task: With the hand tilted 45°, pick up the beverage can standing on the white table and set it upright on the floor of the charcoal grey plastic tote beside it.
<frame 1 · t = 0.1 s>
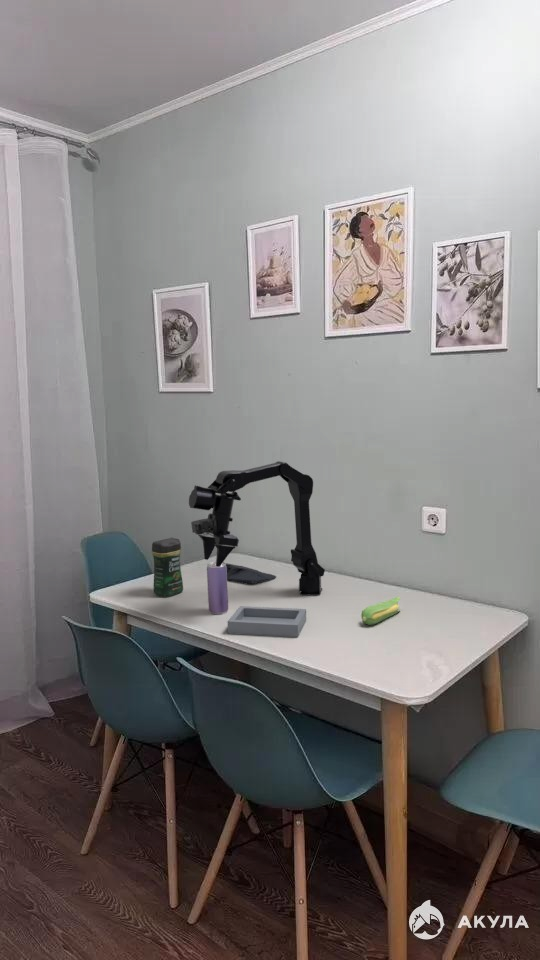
hand: (211, 562, 211), 15 cm above the table, tool pointing down, fingers open, 9 cm apart
edible corn: (384, 618, 204), on the table
beverage can: (218, 612, 213), on the table
tote: (268, 626, 199), on the table
coffee jar: (169, 593, 233), on the table
dark slate chunk: (243, 578, 248), on the table
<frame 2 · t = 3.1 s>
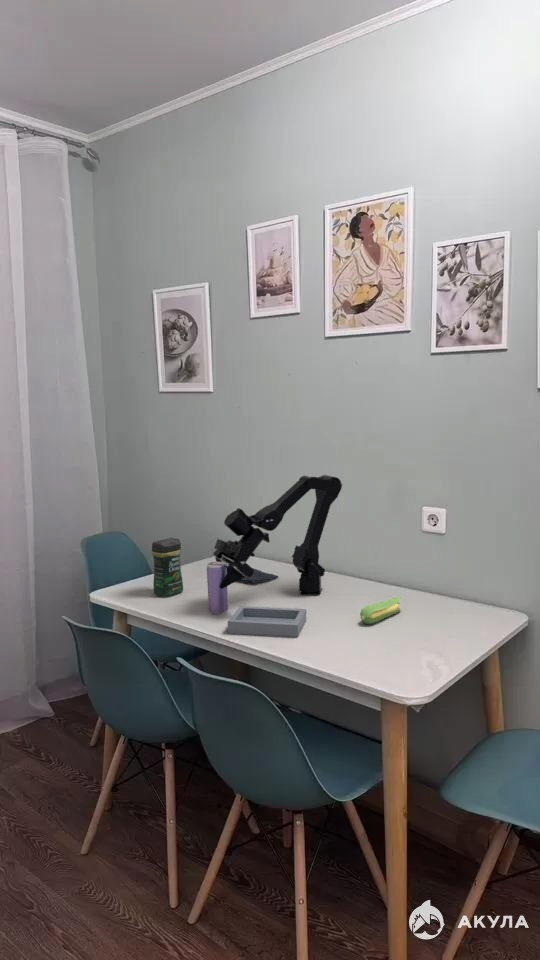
hand: (216, 585, 212), 8 cm above the table, tool tilted 45°, fingers closed on beverage can, 6 cm apart
beverage can: (218, 612, 213), on the table, touching gripper
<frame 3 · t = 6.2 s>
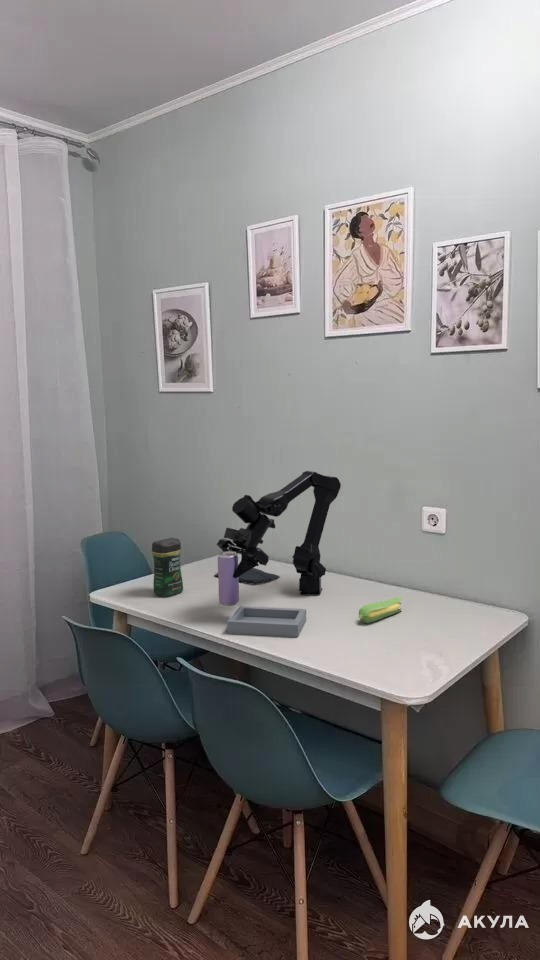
hand: (227, 575, 205), 13 cm above the table, tool tilted 45°, fingers closed on beverage can, 6 cm apart
beverage can: (229, 603, 207), point 5 cm above the table, touching gripper
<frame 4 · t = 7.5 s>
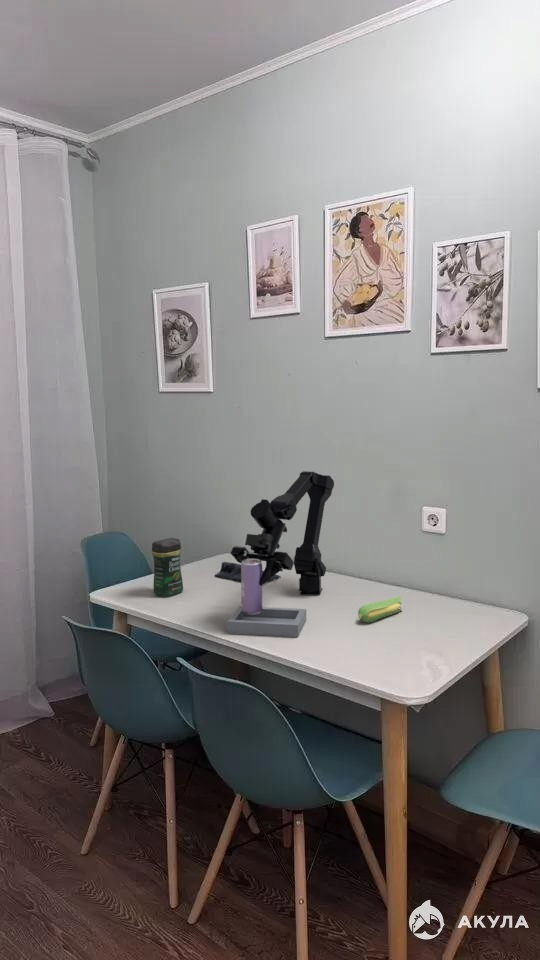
hand: (251, 583, 198), 13 cm above the table, tool tilted 45°, fingers closed on beverage can, 6 cm apart
beverage can: (252, 612, 200), point 4 cm above the table, touching gripper
when the fingers open (10 cm above the table, at t = 8.5 s): beverage can stays where it is, resting on tote.
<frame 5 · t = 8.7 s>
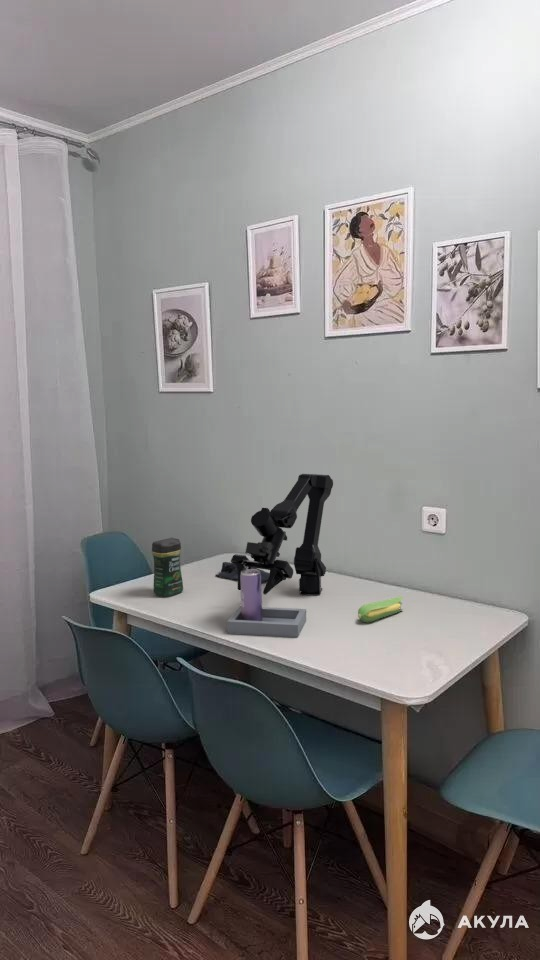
hand: (251, 591, 198), 10 cm above the table, tool tilted 45°, fingers open, 8 cm apart
beverage can: (252, 622, 200), point 1 cm above the table, touching tote
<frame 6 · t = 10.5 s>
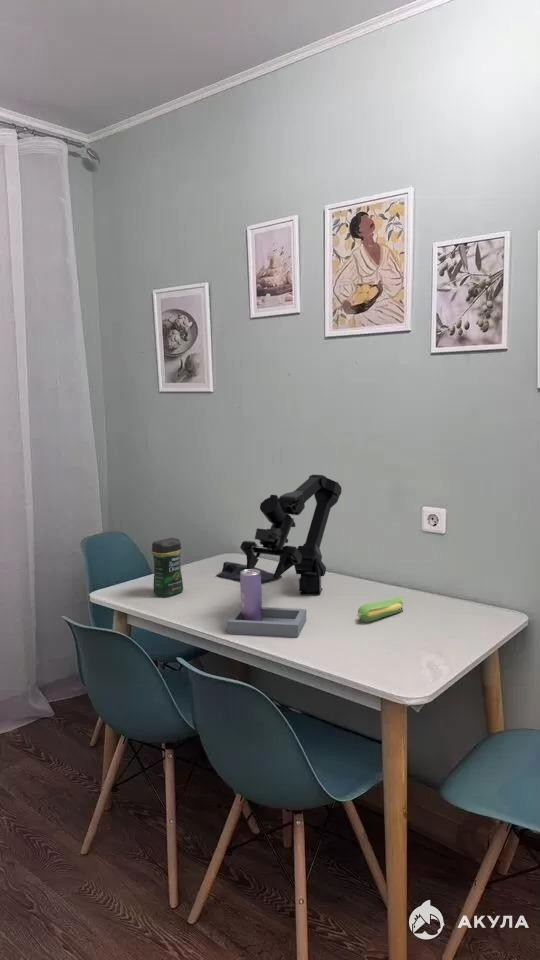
hand: (260, 577, 202), 13 cm above the table, tool tilted 45°, fingers open, 9 cm apart
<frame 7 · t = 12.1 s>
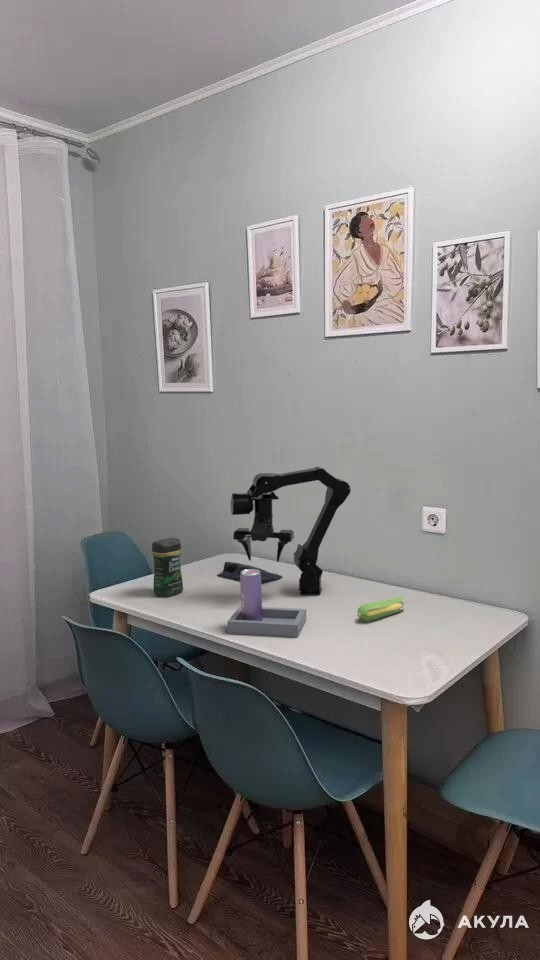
hand: (263, 560, 224), 12 cm above the table, tool pointing down, fingers open, 9 cm apart
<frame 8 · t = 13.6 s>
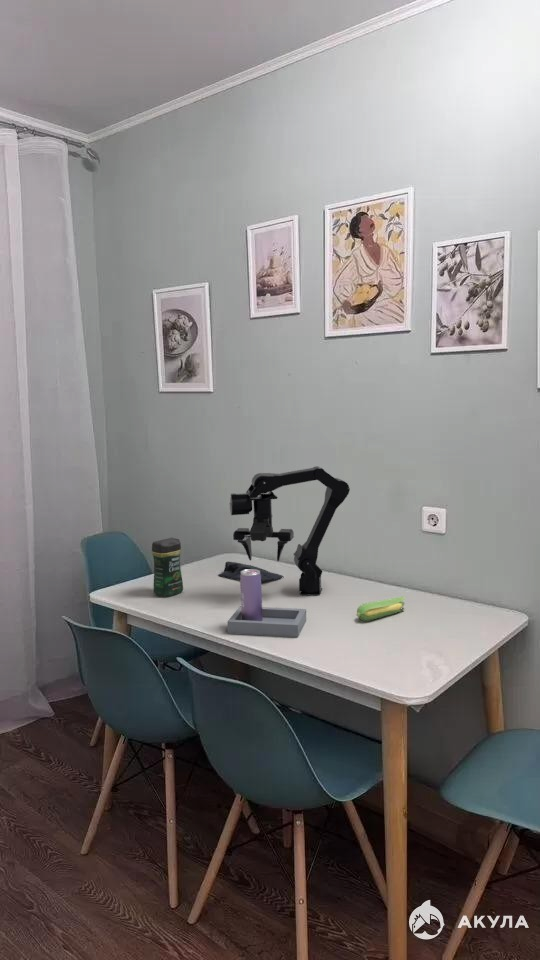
hand: (264, 560, 224), 12 cm above the table, tool pointing down, fingers open, 9 cm apart
at the end: beverage can inside the target area on the tote (4.7 cm from its centre), point 0.8 cm above the tote's base; beverage can tilted 0°; the gripper is holding nothing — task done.
